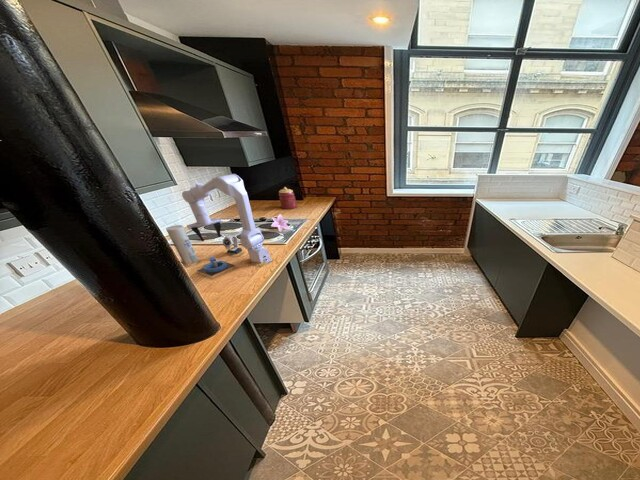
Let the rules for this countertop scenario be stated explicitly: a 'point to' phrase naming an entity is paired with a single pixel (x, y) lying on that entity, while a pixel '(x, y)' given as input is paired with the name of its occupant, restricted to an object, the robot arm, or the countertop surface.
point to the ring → (223, 266)
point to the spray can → (182, 244)
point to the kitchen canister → (287, 198)
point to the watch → (228, 243)
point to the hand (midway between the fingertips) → (211, 238)
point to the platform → (215, 267)
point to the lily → (280, 223)
